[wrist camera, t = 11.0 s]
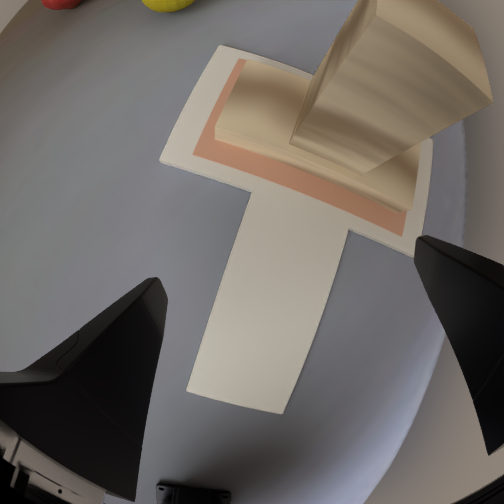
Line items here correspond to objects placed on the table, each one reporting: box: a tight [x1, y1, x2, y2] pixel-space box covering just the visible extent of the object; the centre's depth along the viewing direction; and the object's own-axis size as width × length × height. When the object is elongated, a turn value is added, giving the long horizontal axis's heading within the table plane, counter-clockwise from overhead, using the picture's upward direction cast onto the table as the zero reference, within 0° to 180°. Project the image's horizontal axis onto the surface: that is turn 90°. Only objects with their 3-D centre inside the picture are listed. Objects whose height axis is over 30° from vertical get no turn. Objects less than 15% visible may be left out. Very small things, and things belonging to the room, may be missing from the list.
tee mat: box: [159, 45, 433, 414], centre depth 18 cm, size 25×20×1 cm
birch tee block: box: [215, 0, 493, 213], centre depth 12 cm, size 6×14×13 cm, turn 71°
